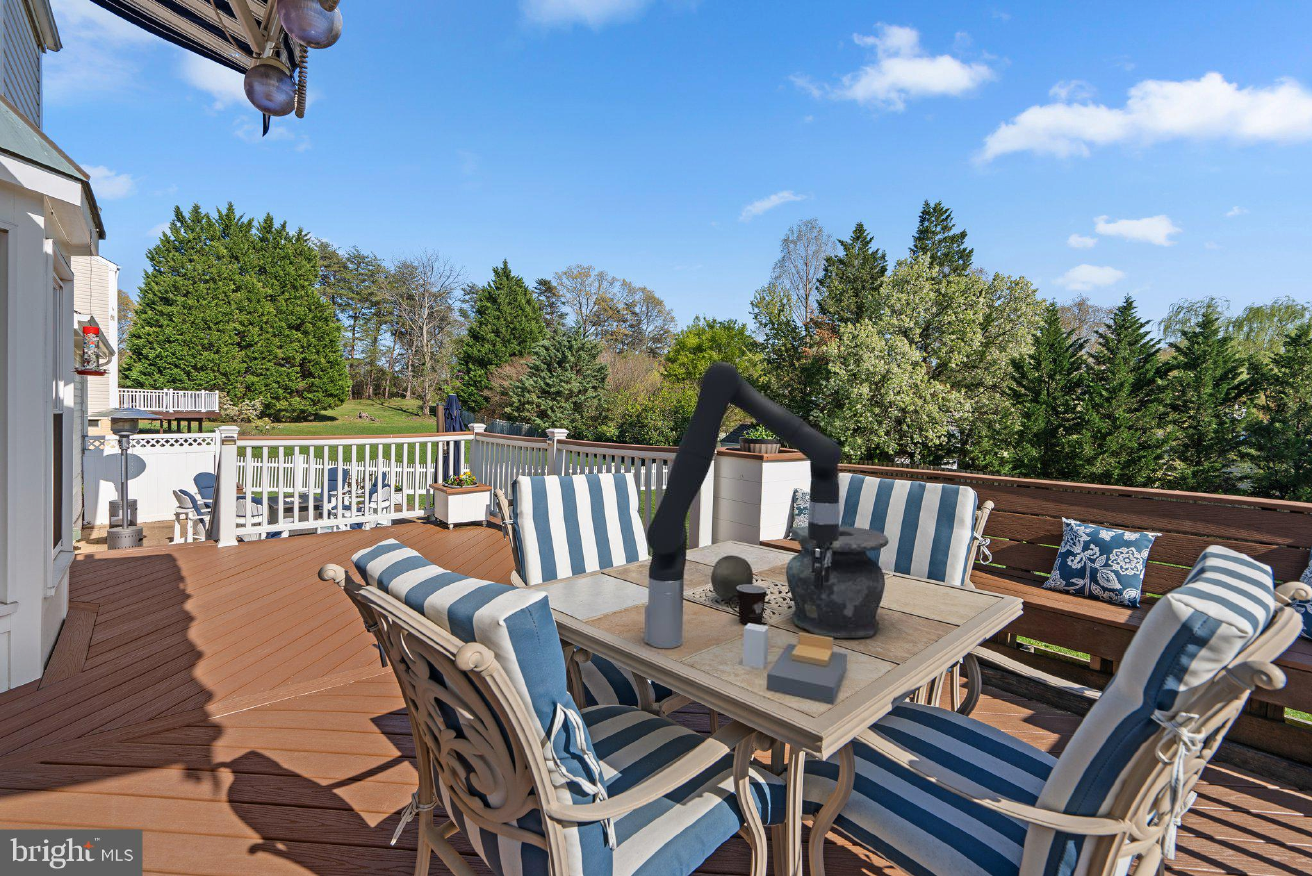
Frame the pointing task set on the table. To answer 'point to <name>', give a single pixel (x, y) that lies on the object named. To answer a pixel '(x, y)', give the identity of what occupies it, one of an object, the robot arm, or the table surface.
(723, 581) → the grey stone ball
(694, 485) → the robot arm
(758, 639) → the plug
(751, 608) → the coffee mug
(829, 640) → the tan l-shaped block
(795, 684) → the socket plate
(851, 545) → the clay pot
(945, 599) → the table surface
